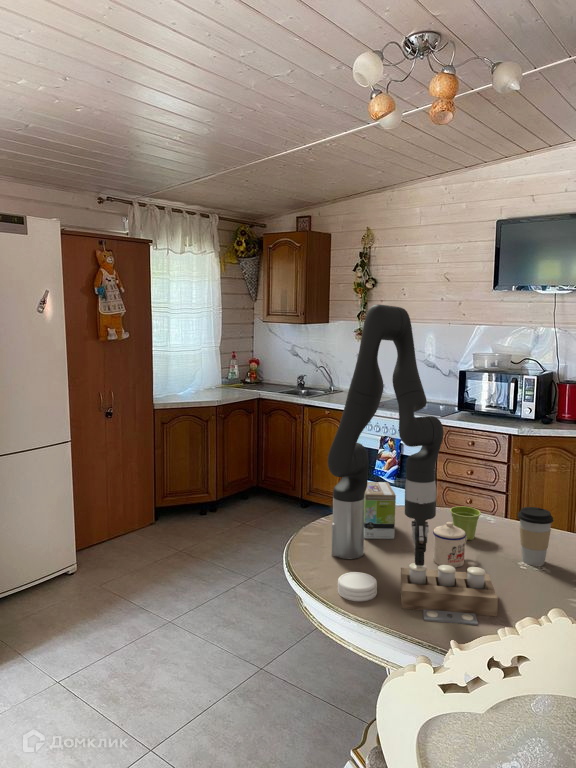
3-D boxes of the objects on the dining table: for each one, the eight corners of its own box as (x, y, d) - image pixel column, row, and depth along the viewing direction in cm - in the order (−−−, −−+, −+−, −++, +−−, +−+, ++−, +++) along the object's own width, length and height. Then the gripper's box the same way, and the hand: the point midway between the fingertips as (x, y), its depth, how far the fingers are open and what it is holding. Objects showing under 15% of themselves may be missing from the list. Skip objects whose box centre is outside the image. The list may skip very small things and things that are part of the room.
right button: (468, 589, 137) (468, 573, 137) (465, 581, 141) (466, 566, 141) (486, 590, 136) (486, 575, 136) (483, 582, 141) (483, 567, 140)
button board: (401, 608, 136) (401, 590, 136) (400, 583, 149) (400, 567, 148) (497, 616, 132) (497, 598, 132) (487, 590, 145) (488, 573, 145)
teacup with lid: (451, 571, 156) (452, 530, 155) (425, 560, 164) (426, 521, 162) (477, 560, 163) (479, 521, 162) (452, 550, 170) (453, 513, 169)
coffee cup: (551, 558, 165) (553, 508, 163) (551, 571, 156) (553, 519, 154) (516, 552, 169) (518, 504, 167) (514, 565, 160) (516, 514, 158)
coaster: (376, 604, 139) (376, 590, 138) (336, 600, 140) (336, 587, 140) (377, 585, 148) (377, 572, 148) (339, 582, 150) (339, 570, 150)
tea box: (395, 539, 179) (396, 494, 178) (363, 539, 179) (364, 494, 178) (387, 522, 194) (388, 480, 192) (358, 522, 194) (359, 480, 193)
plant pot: (483, 535, 182) (484, 509, 181) (475, 545, 174) (476, 518, 174) (454, 529, 187) (454, 504, 186) (445, 539, 179) (446, 512, 178)
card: (424, 620, 131) (424, 617, 131) (422, 610, 135) (422, 608, 135) (478, 625, 129) (478, 622, 128) (475, 615, 133) (475, 612, 133)
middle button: (438, 587, 138) (438, 571, 138) (436, 579, 143) (437, 564, 142) (456, 588, 138) (456, 572, 137) (454, 580, 142) (454, 565, 141)
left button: (409, 584, 140) (409, 569, 139) (408, 577, 144) (409, 562, 143) (426, 586, 139) (427, 570, 138) (425, 578, 143) (426, 563, 143)
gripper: (403, 488, 146) (403, 553, 148) (405, 504, 133) (405, 575, 135) (433, 489, 145) (432, 554, 147) (438, 506, 132) (437, 577, 134)
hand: (419, 564), depth 141 cm, fingers closed
